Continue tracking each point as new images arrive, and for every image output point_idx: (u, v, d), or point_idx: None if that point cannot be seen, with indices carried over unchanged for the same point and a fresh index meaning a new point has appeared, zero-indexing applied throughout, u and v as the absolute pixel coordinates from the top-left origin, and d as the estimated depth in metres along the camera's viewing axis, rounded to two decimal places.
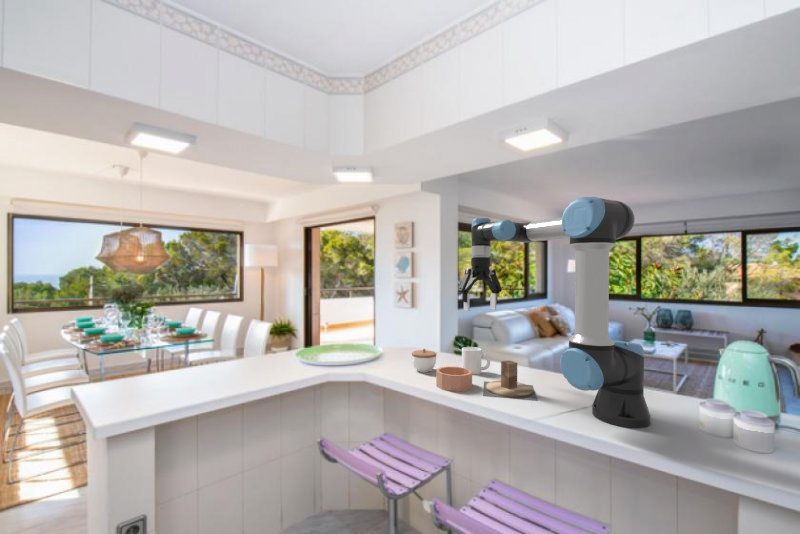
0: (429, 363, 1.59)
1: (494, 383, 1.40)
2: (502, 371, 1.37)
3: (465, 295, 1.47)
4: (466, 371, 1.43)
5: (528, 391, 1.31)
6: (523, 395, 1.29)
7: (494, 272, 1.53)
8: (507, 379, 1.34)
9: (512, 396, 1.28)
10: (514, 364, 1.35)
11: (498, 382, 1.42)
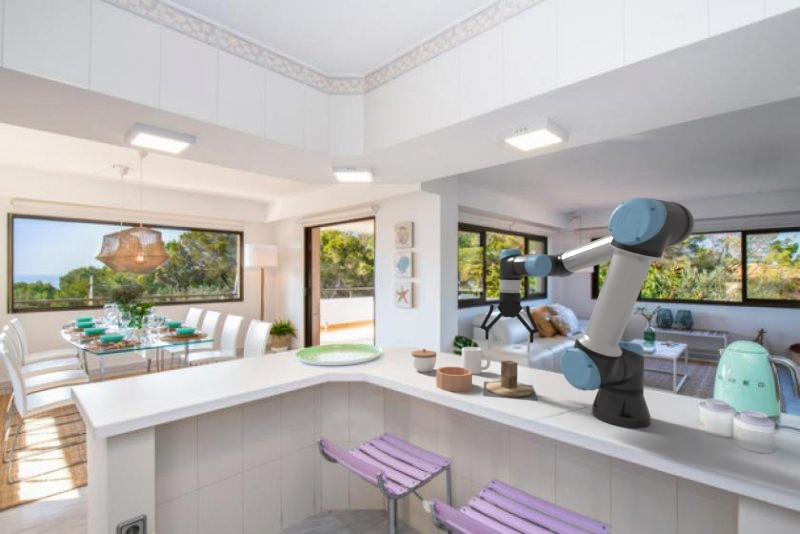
0: (429, 363, 1.59)
1: (494, 383, 1.40)
2: (502, 371, 1.37)
3: (486, 332, 1.39)
4: (466, 371, 1.43)
5: (528, 391, 1.31)
6: (523, 395, 1.29)
7: (527, 309, 1.34)
8: (507, 379, 1.34)
9: (512, 396, 1.28)
10: (514, 364, 1.35)
11: (498, 382, 1.42)
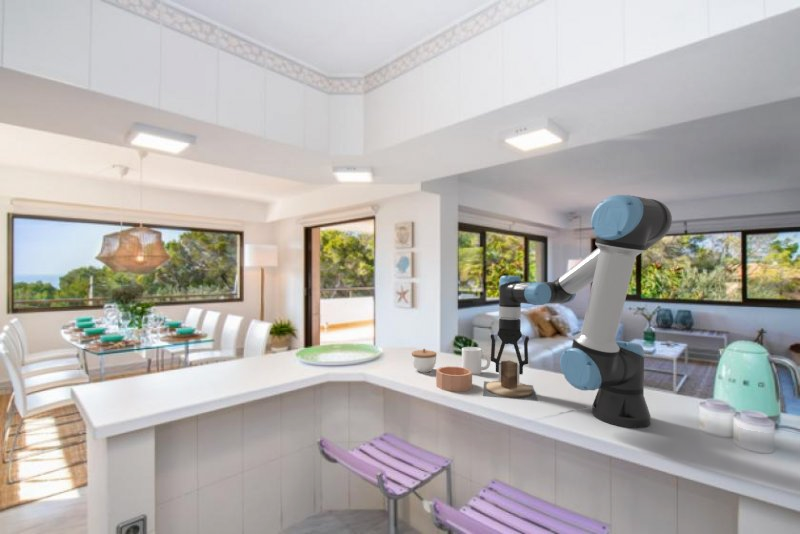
0: (429, 363, 1.59)
1: (494, 383, 1.40)
2: (502, 371, 1.37)
3: (496, 365, 1.37)
4: (466, 371, 1.43)
5: (528, 391, 1.31)
6: (523, 395, 1.29)
7: (526, 340, 1.34)
8: (507, 379, 1.34)
9: (512, 396, 1.28)
10: (514, 364, 1.35)
11: (498, 382, 1.42)
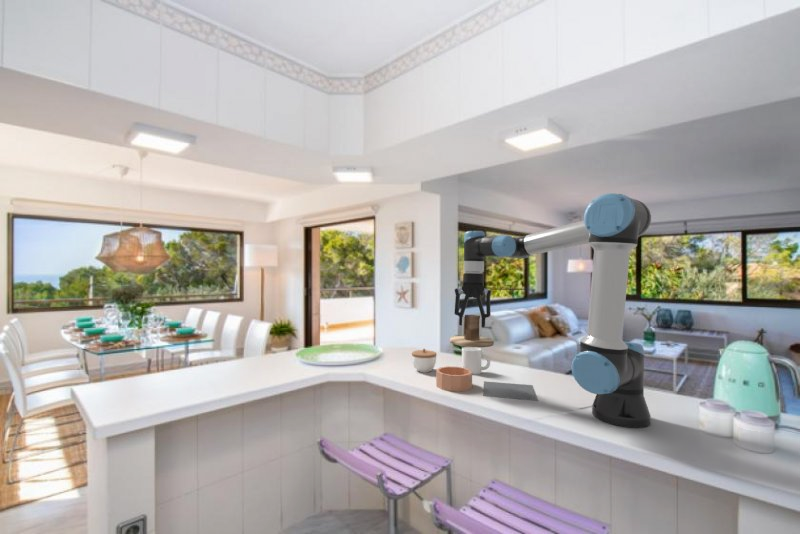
0: (429, 363, 1.59)
1: (458, 337, 1.44)
2: (465, 324, 1.41)
3: (460, 318, 1.41)
4: (466, 371, 1.43)
5: (489, 342, 1.35)
6: (483, 345, 1.33)
7: (488, 293, 1.37)
8: (469, 331, 1.38)
9: (472, 346, 1.32)
10: (477, 317, 1.39)
11: (463, 336, 1.46)
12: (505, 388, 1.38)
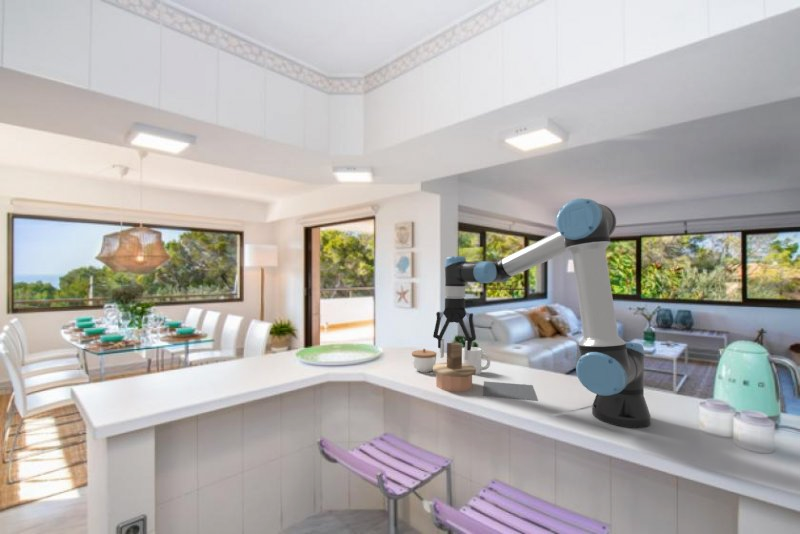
0: (429, 363, 1.59)
1: (441, 365, 1.45)
2: (448, 352, 1.41)
3: (439, 341, 1.42)
4: None
5: (471, 371, 1.36)
6: (465, 374, 1.34)
7: (470, 317, 1.38)
8: (451, 360, 1.39)
9: (454, 375, 1.33)
10: (458, 345, 1.40)
11: (446, 364, 1.47)
12: (505, 388, 1.38)
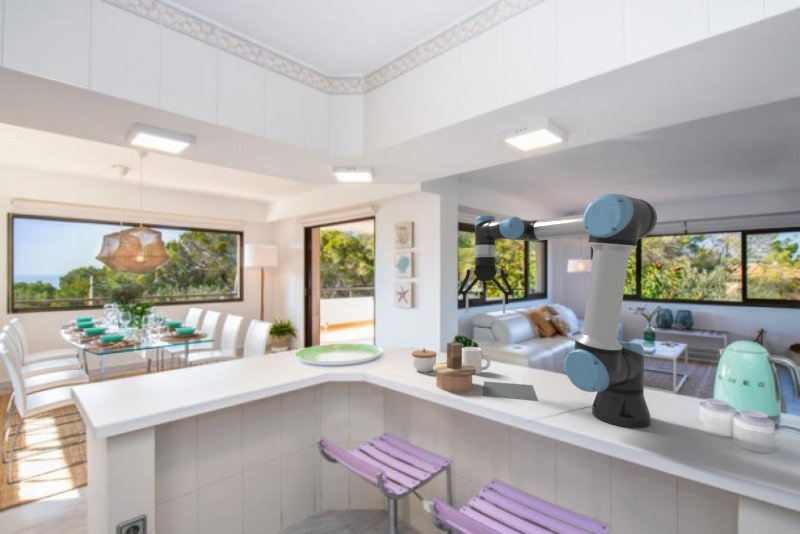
0: (429, 363, 1.59)
1: (441, 365, 1.45)
2: (448, 352, 1.41)
3: (464, 296, 1.44)
4: None
5: (471, 371, 1.36)
6: (465, 374, 1.34)
7: (502, 272, 1.40)
8: (451, 360, 1.39)
9: (454, 375, 1.33)
10: (458, 345, 1.40)
11: (446, 364, 1.47)
12: (505, 388, 1.38)
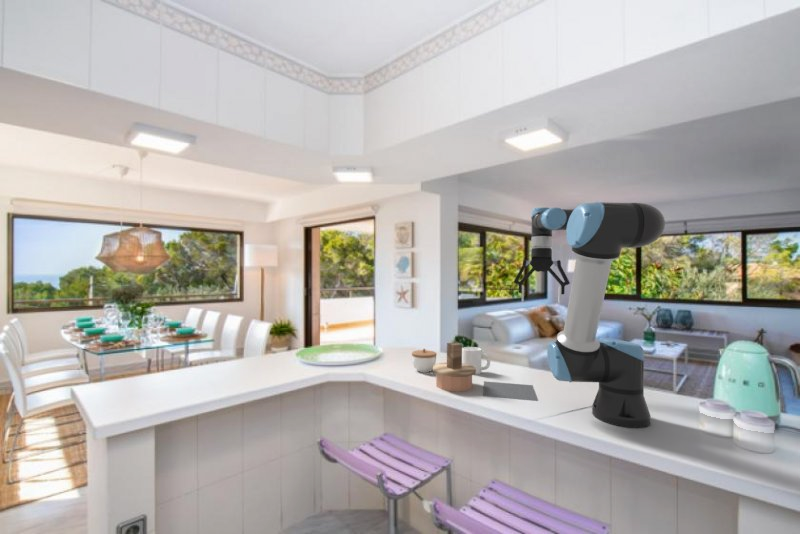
0: (429, 363, 1.59)
1: (441, 365, 1.45)
2: (448, 352, 1.41)
3: (519, 286, 1.49)
4: None
5: (471, 371, 1.36)
6: (465, 374, 1.34)
7: (558, 263, 1.44)
8: (451, 360, 1.39)
9: (454, 375, 1.33)
10: (458, 345, 1.40)
11: (446, 364, 1.47)
12: (505, 388, 1.38)
